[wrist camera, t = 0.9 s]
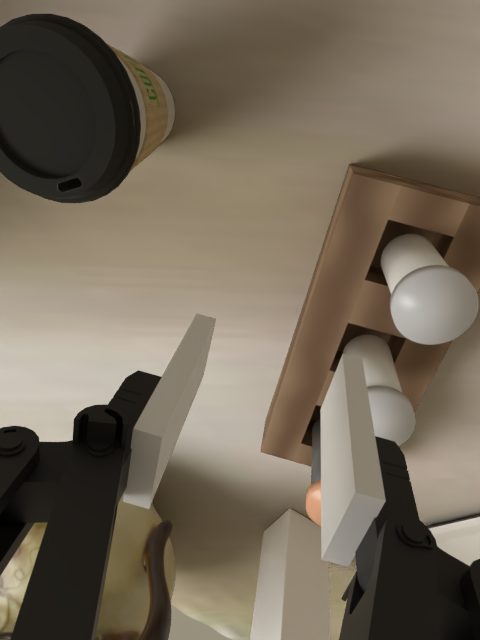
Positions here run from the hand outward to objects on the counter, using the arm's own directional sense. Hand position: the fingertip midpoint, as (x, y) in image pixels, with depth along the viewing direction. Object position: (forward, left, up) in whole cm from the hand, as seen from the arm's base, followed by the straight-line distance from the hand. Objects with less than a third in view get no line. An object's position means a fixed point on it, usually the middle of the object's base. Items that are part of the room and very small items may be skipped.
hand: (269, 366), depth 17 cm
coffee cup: (-15, +5, -25) cm, 30 cm away
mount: (+9, -9, -25) cm, 28 cm away
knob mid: (+9, -9, -20) cm, 23 cm away
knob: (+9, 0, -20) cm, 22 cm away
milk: (+11, -39, -25) cm, 48 cm away
